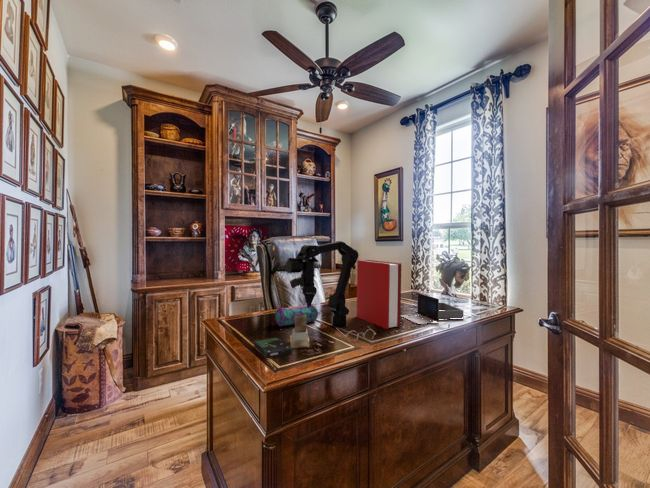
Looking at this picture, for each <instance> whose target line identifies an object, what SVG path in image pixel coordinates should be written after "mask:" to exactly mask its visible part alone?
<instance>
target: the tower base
mask: <svg viewBox="0 0 650 488" xmlns="http://www.w3.org/2000/svg"><path fill="white" fill-rule="evenodd" d="M289 343H290V345H289V346H290V347H291V348H292V349H293V348H310V338H309V337H308V340H301V341H293V336H292V334H290V335H289Z"/></svg>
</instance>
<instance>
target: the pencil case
mask: <svg viewBox="0 0 650 488" xmlns="http://www.w3.org/2000/svg"><path fill="white" fill-rule="evenodd" d="M318 313H319V312H318V309H317V308H316V306H315V305H313V304H312V303H311V306H310V307H307V305H305V306H299V307H297V308H293V309H291V308H285V307H278V306H277V309H276V311H275V313H274V314H275V315H274V316H275V317H274V318H275V322H276V324H277V325H278V326H279V327H284V326H285V327H286V326H293V325H295V315H306V324H307V323H313V322H315V321H317V319H318Z"/></svg>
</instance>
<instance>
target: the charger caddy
mask: <svg viewBox="0 0 650 488" xmlns="http://www.w3.org/2000/svg"><path fill="white" fill-rule="evenodd" d="M416 306H417V307H416V308H417V309H416V312H417V311H418V302H417V303H416ZM439 310H445V311H439V319H450V318H462V317H463V318H464V309H461V308H458V307H456V306H454V305H451V304H449V303H446V302H439Z"/></svg>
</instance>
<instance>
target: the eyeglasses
mask: <svg viewBox="0 0 650 488" xmlns="http://www.w3.org/2000/svg"><path fill="white" fill-rule="evenodd" d="M364 326H367V327H369V325H368V324H366V323H364V324H363V325H361V326H360V327H359V328H360V329H362V328H363V327H364ZM333 330H338V332H339V333H340V334H341V335H343V337H346V338H347V340H348V341H349V342H351V340H350V339H349V337H348V335H349V333H351V332H352V330H350V331H349V333H347V334H344V333H343V332H342V331H340V330H339V329H338V327H335V326H333ZM370 330H371V331H372V332H373V336H372V338H374V337H375V335H377V333H376V332H375V331H374V330H373V329H372V328H371V327H369V329H367V330H366V331H365V332H364V333H362V337H363V339H364V340H365V341H367V340H366V339H367V338H366V337H365V336H366V333H367V332H368V331H370ZM354 332H355V333H356V338H355V339H354V340H353V341H355V342H357V340H358V339H359V336H360V332H359V333H358V332H356V331H355V330H354Z"/></svg>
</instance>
